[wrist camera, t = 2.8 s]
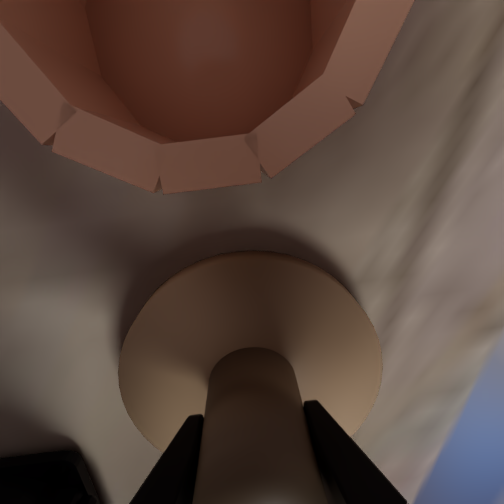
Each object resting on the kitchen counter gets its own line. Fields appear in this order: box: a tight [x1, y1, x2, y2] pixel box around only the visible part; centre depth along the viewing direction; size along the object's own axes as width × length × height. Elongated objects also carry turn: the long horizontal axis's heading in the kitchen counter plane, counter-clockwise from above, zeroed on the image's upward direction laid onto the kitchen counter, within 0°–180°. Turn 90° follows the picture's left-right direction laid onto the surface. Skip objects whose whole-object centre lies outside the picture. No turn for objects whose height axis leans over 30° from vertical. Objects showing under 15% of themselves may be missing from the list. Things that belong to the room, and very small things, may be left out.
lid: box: [118, 251, 383, 504], centre depth 9 cm, size 9×9×5 cm
